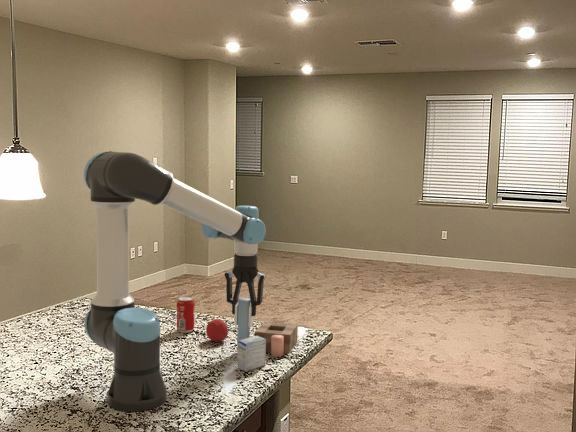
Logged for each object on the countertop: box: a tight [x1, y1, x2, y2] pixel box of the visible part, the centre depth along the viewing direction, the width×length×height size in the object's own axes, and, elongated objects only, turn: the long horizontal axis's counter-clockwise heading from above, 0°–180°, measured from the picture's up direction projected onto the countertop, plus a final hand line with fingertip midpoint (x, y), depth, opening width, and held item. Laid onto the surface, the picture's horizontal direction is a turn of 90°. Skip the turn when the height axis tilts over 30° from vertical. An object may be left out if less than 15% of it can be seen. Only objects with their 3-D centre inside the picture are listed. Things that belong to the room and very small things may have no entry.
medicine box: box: [236, 335, 267, 372], centre depth 190 cm, size 8×4×9 cm, turn 134°
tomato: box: [205, 318, 229, 343], centre depth 215 cm, size 8×8×8 cm
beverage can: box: [176, 296, 196, 334], centre depth 225 cm, size 6×6×12 cm
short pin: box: [270, 335, 284, 358], centre depth 202 cm, size 4×4×6 cm
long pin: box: [236, 297, 251, 343], centre depth 203 cm, size 4×4×14 cm
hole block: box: [254, 321, 299, 354], centre depth 211 cm, size 12×12×6 cm
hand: (243, 324), depth 203 cm, fingers closed on long pin, 4 cm apart
